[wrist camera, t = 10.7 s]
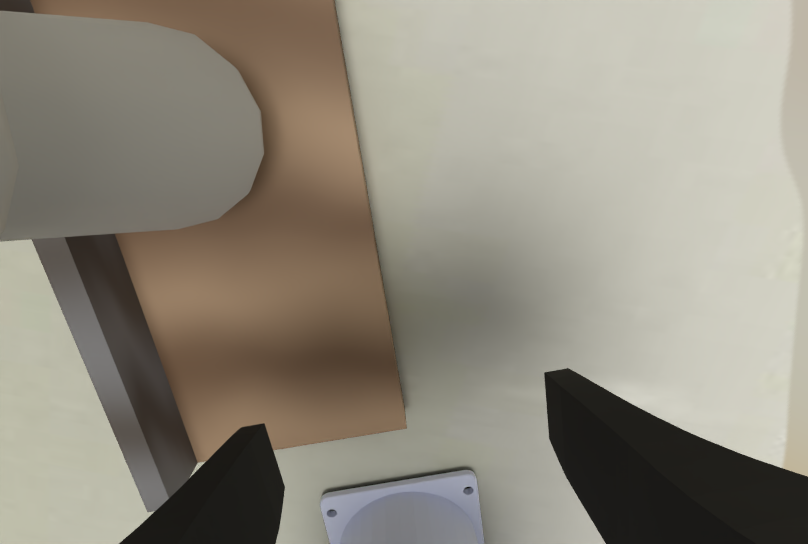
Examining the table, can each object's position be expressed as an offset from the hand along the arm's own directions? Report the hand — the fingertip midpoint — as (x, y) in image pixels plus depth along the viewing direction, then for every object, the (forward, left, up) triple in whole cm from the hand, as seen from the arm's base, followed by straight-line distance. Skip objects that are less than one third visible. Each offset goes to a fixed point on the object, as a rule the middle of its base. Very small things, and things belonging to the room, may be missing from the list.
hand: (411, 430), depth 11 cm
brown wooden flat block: (+5, +6, -9) cm, 11 cm away
